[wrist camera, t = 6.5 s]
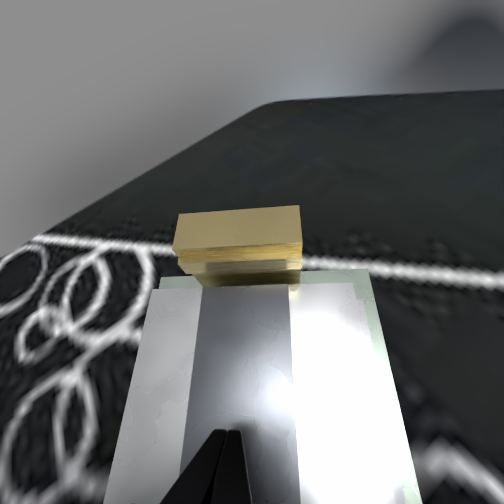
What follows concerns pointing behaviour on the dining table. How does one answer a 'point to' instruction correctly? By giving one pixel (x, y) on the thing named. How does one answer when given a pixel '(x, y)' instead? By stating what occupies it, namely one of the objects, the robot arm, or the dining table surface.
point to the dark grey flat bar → (247, 385)
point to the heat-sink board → (304, 366)
